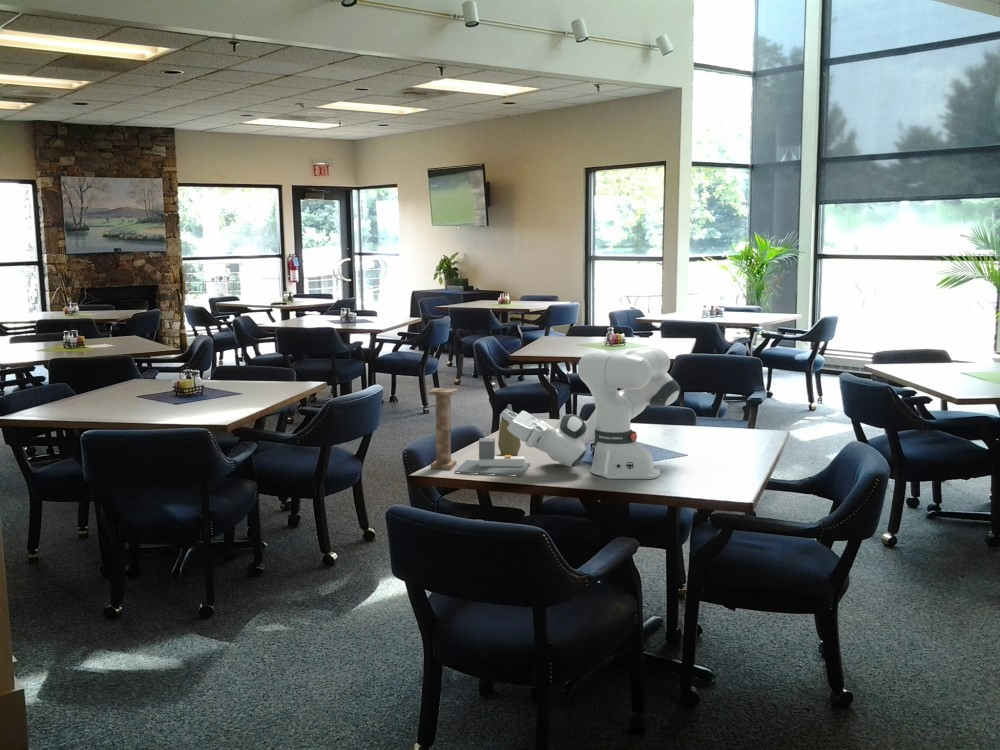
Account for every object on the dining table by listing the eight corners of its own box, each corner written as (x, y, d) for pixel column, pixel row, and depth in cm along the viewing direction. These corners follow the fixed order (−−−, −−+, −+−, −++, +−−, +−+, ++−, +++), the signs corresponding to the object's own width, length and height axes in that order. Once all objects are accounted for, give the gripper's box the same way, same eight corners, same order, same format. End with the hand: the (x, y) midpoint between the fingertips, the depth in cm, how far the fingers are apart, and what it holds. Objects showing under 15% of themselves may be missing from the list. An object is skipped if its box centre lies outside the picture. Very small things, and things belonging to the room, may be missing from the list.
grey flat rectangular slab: (530, 465, 314) (530, 462, 314) (521, 476, 299) (521, 474, 299) (466, 462, 319) (466, 459, 319) (454, 473, 303) (454, 470, 303)
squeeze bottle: (501, 458, 325) (501, 407, 322) (495, 453, 333) (495, 403, 330) (523, 456, 327) (523, 406, 325) (517, 451, 335) (517, 402, 332)
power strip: (524, 463, 314) (524, 438, 312) (524, 466, 309) (524, 441, 307) (480, 462, 314) (480, 438, 313) (479, 466, 309) (479, 441, 308)
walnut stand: (458, 464, 315) (457, 388, 312) (452, 470, 308) (451, 392, 304) (435, 463, 317) (434, 387, 313) (428, 468, 309) (427, 391, 306)
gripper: (548, 420, 313) (513, 398, 315) (538, 431, 293) (501, 409, 295) (539, 435, 315) (504, 414, 316) (528, 448, 295) (491, 425, 296)
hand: (502, 411), depth 305 cm, fingers open, 2 cm apart
